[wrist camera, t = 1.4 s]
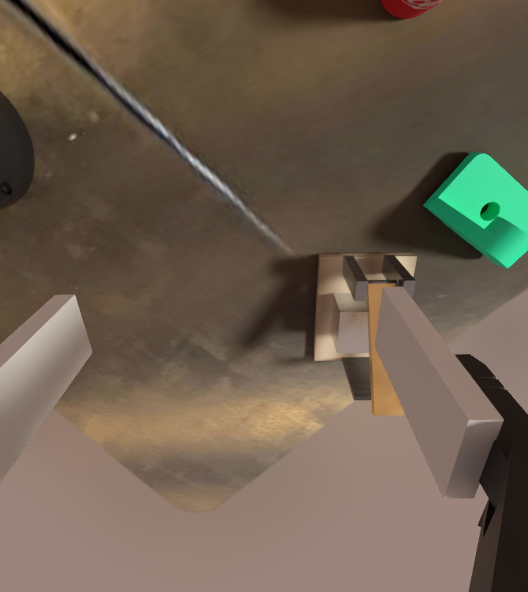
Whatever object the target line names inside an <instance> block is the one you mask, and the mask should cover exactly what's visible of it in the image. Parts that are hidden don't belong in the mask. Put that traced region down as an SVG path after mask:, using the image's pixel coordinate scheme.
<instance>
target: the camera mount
mask: <svg viewBox="0 0 528 592" xmlns="http://www.w3.org/2000/svg"><path fill="white" fill-rule="evenodd" d="M487 203H489V205H488V208H487V210H486V211H485V212H484V213H483V214H481V215H480V212H481V209H482V207H483V206H484V205H485V204H487ZM423 206H424V207H425V208H427V209H428V210H429V211H430V212H431V213H433V214H434V215H435V216H436V217H438V218H439V219H440V220H441V221H442V222H443V223H444V224H446V225H447V226H448V227H449V228H450V229H452V230H453V231H454V232H455V233H457V234H458V235H459V236H460V237H461V238H463V239H464V240H465V241H466V242H468V243H469V244H471V245H472V246H473V247H474V248H476V249H477V250H478V251H479V252H481V253H482V254H483V255H484V256H485V257H487V258H488V259H489V260H490V261H492V262H493V263H495V264H496V265H498V266H501V267H504V268H507V269H508V268H509V267H510V266H511V265H512V264H513V263H514V262H515V261H517V260H518V259H519V258H520V257H521V256H522V255H523V254H524V253H525V252H526V251H528V191H527V190H526V189H524V188H523V187H522V186H521V185H520V184H519V183H518V182H517V181H516V180H515V179H514V178H513V177H512V176H510V175H509V174H508V173H507V172H506V171H505V170H504V169H503V168H502V167H501V166H500V165H499V164H498V163H496V162H495V161H494V160H493V159H492V158H491V157H490V156H489V155H487V154H484V153H479V152H473V153H471V154H469V155H468V156H467V157H466V158H465V159H464V160H463V161H462V162H461V164H460V165H459V166H458V167H457V168H456V169H455V170H454V171H453V172H452V174H451V175H450V176H449V177H448V178H447V179H446V180H445V181H444V182H443V184H442V185H441V186H440V187H439V188H438V189H437V190H436V191H435V192H434V193H433V195H432V196H431V197H430V198H429V199H428V200H427V201H426V202H425V203H424V205H423Z"/></svg>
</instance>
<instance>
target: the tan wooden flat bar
mask: <svg viewBox="0 0 528 592" xmlns="http://www.w3.org/2000/svg"><path fill="white" fill-rule="evenodd" d="M383 287H397V280H368V288H367V296H366V301H367V321H368V341H369V361H370V380H371V400H372V414H373V415H375V416H377V415H404V414H403V408H402V406H401V403H400V401H399V399H398V397H397V395H396V392H395V390H394V388H393V386H392V384H391V381H390V379H389V377H388V375H387V373H386V370H385V368H384V366H383V364H382V362H381V359H380V357H379V355H378V353H377V350H376V348H375V339H376V332H377V325H378V317H379V310H380V303H381V295H382V288H383Z"/></svg>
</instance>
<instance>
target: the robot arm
mask: <svg viewBox="0 0 528 592" xmlns="http://www.w3.org/2000/svg"><path fill="white" fill-rule="evenodd" d="M33 173H34V152H33V146H32V142H31V139H30V136H29V133H28V131H27V128H26V126H25V124H24V122H23V120H22V119H21V117H20V115H19V114H18V112H17V111H16V109H15V108H14V106H13V105H12V104H11V103H10V101H9V100H8V99H7V98H6V97H5V96H4V95H3V94H2V93H1V92H0V209H2V208H5V207H7V206H10V205H12V204H13V203H15V202H16V201H18V200H19V199H20V198H21V197H22V196H23V195H24V194H25V192H26V191H27V189H28V188H29V186H30V183H31V181H32V177H33ZM375 348H376V350H377V353H378V355H379V357H380V359H381V362H382V364H383V366H384V368H385V370H386V373H387V375H388V377H389V379H390V381H391V384H392V386H393V388H394V390H395V392H396V395H397V397H398V399H399V401H400V403H401V406H402V408H403V410H404V412H405V414H406V417H407V419H408V421H409V423H410V425H411V428H412V430H413V432H414V434H415V436H416V439H417V441H418V443H419V445H420V447H421V450H422V452H423V454H424V456H425V458H426V461H427V463H428V465H429V467H430V470H431V472H432V474H433V476H434V478H435V481H436V483H437V485H438V487H439V489H440V492H441V494H442V496H443V498H444V499H446V498H447V499H449V498H474V497H475V494H476V491H477V489H478V486H479V484H481V485H482V487H483V489H484V491H485V493H486V494H487V496H488V498H489V500H488V502H487V504H486V507H485V509H484V511H483V514H482V516H481V519H480V521H479V524H478V526H480V527H481V532H480V537H479V542H478V547H477V552H476V557H475V562H474V567H473V573H472V577H471V582H470V588H469V592H528V414H527V413H526V412H525V411H524V410H523V409H522V407H521V406H520V405H519V404H518V403H517V402H516V400H515V399H514V398H513V397H512V396H511V394H510V393H509V392H508V391H507V390H505V389H504V386H503V385H502V384H501V383H500V382H499V380H497V379H496V377H495V376H494V375H493V373H492V372H491V371H490V370H489V369H488V367H487V366H486V365H485V364H483V363H482V362H480V361H479V360H477V359H476V358H474V357H473V356H471V355H470V354H462V355H454V353H453V352H452V351H451V349H450V348H449V347H448V345H447V344H446V343H445V341H444V340H443V339H442V338H441V336H440V335H439V334H438V332H437V331H436V330H435V328H434V327H433V326H432V324H431V323H430V322H429V320H428V319H427V318H426V317H425V315H424V314H423V313H422V311H421V310H420V309H419V307H418V306H417V305H416V303H415V302H414V301H413V299H412V298H411V297H410V295H409V294H408V293H407V292H406V290H405V289H404V288H403V287H383V288H382V295H381V303H380V310H379V317H378V325H377V332H376V339H375ZM91 354H92V349H91V346H90V343H89V340H88V336H87V333H86V330H85V327H84V323H83V320H82V317H81V313H80V310H79V307H78V304H77V300H76V297H75V295H55V296H54V297H53V298H51V299H50V300H49V301H48V302H47V303H46V304H45V305H44V306H43V307H41V308H40V309H39V310H38V311H37V312H36V313H35V314H34V315H32V316H31V317H30V318H29V319H28V320H27V321H26V322H25V323H24V324H22V325H21V326H20V327H19V328H18V329H17V330H16V331H15V332H13V333H12V334H11V335H10V336H9V337H8V338H7V339H6V340H5V341H3V342H2V343H1V344H0V482H1V481H2V480H3V478H4V477H5V475H6V474H7V473H8V471H9V470H10V468H11V467H12V466H13V464H14V463H15V461H16V460H17V458H18V457H19V456H20V454H21V453H22V451H23V450H24V449H25V447H26V446H27V444H28V442H29V441H30V440H31V439H32V437H33V436H34V434H35V433H36V431H37V430H38V429H39V427H40V426H41V424H42V423H43V422H44V420H45V419H46V417H47V416H48V414H49V413H50V412H51V410H52V409H53V407H54V406H55V405H56V403H57V402H58V400H59V399H60V398H61V396H62V395H63V393H64V392H65V390H66V389H67V388H68V386H69V385H70V383H71V382H72V381H73V379H74V378H75V376H76V375H77V373H78V372H79V371H80V369H81V368H82V366H83V365H84V364H85V362H86V361H87V359H88V358H89V357H90V355H91Z"/></svg>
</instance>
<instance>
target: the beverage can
mask: <svg viewBox="0 0 528 592" xmlns="http://www.w3.org/2000/svg"><path fill="white" fill-rule="evenodd" d="M380 1H381V3H382V5H383V6H384V8H385V9H386V10H387V11H388V12H389V13H390V14H391V15H393V16H395V17H398V18H402V19H409V18H414V17H417V16H419V15H421V14H423V13H424V12H426V11H427V10H429V9H431V8H432V7H434V6H436V5H437V4H439V3H441V2H442V1H444V0H380Z"/></svg>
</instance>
